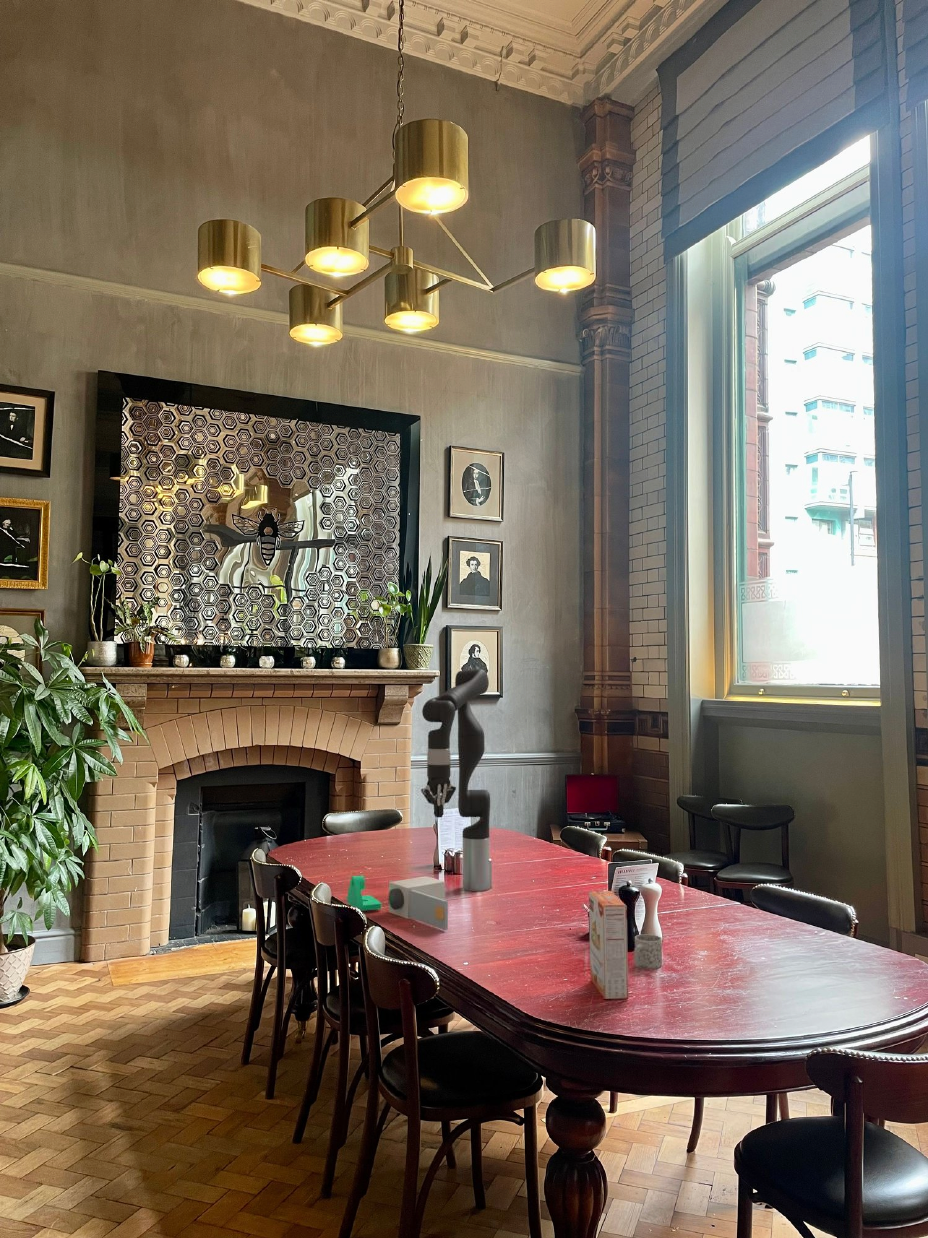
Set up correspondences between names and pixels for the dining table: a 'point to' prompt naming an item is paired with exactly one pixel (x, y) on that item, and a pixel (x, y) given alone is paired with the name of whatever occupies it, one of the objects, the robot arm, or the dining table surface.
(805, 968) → the dining table surface
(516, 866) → the dining table surface
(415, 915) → the side door
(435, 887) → the camera housing
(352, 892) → the camera mount
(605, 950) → the cracker box
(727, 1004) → the dining table surface
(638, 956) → the mug
